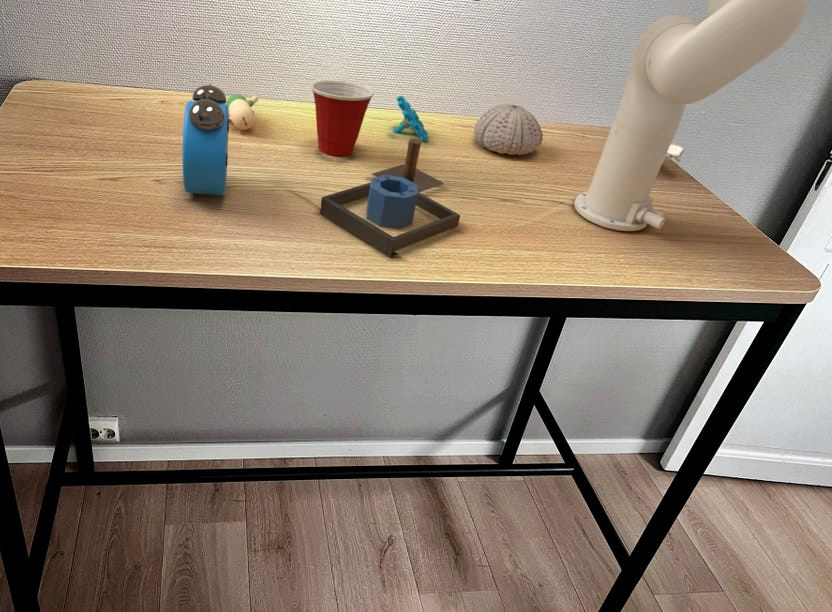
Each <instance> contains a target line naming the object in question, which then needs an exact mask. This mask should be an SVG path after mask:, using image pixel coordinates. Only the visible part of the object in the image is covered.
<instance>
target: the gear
mask: <svg viewBox="0 0 832 612" xmlns="http://www.w3.org/2000/svg"><path fill="white" fill-rule="evenodd" d="M396 101H397V105H398V107H399V108H400V110H401V113H402V115H403V119H402V120H401V121H400V122H399V123H397V124H398V126H397V127H396V128H394V129H393V130H392V131H391V133H393V134H400V133H401V132H402V131H404V130H406V129H410V128H411V129H412V130H413V129H414V131H415V134H416V136H417V137H418V139H421V142H422V143H427V142H429V136H428V131H427V130H426V129H425V125H424V124H423V122H422V120H420V116H419V115H418V114H417V111H416V109H415V108H414V107H412V105H411V104H410V103H409V101H407V100H406V98H405V97H404V95H399V96H398V97H397V98H396Z"/></svg>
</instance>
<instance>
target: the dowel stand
mask: <svg viewBox="0 0 832 612" xmlns="http://www.w3.org/2000/svg"><path fill="white" fill-rule="evenodd" d="M407 144H408V145H407V149H406V156H405V159H404V160H405V161H404V163H403V164H400V165H396V166H393V167H389V168H385V169H383V170H379V171H376V172H371V175H372V176H374V177H375V178H376V177H379V176H382V175H389V176H397V177H403V178H405V179H407V180H409V181H411V182H413V183H415V184H416V185H417V188H418V192H419V193H422V192H425V191H428V190H430V189H433V188H436V187H440V186H442V185H445V182H443V181H441V180H439V179H437V178H435V177H433V176H431V175H429V174H428V173H426V172H424V171H421V170H420V169H418V168H417V166H418V160H419V156H420V151H421V145H422V140H420V139H419V138H418V139H417V138H410V139H409V140H408V143H407Z"/></svg>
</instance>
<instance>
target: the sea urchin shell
mask: <svg viewBox="0 0 832 612" xmlns="http://www.w3.org/2000/svg"><path fill="white" fill-rule="evenodd" d="M473 129H474V131H473V133H474V138H476V142H478V145H480V146H482V148H485V149H487V150H489V151H492V152H496V153H498V154H503V155H504V154H507V155H511V156H515V155H518V156H523V155H528V154H530V153H531V154H532V153H533V151H537V149H538V148H539V147H540V146H541V145H542V142H543V140H544V138H543V136H544V134H543V130H542V127H541V125H540V124H539V122H538V119H537V118H536V117H535V115H533V114H532V113H531V111H528V110H527V109H525V108H524V107H523V106H521V105H516V104H510V103H500V104H497V105H496V106H492V107H491V108H488V109H487V111H484V113H483V115H481V116H480V117H479V119H478V120H477V121H476V123H475V124H474V128H473Z"/></svg>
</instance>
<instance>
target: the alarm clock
mask: <svg viewBox="0 0 832 612" xmlns="http://www.w3.org/2000/svg"><path fill="white" fill-rule="evenodd" d="M226 102H227V95H226V94H225V92H224V91H223V90H222V89H221V88H219V87H217V86H215V85H212V83H208V84H204V85H201V86H199V87H197V88H196V89H195V90H194V91H193V93H192V100H189V101H187V102H186V104H185V108H184V115H183V129H182V182H183V189H184V191H185V192H186V193H188V194H189V200H193V195H194V194H198V195H210V196H224V195H226V190H227V177H228V158H229V157H228V156H229V155H228V153H229V132H230V118H229V109H228V105H226Z"/></svg>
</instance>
